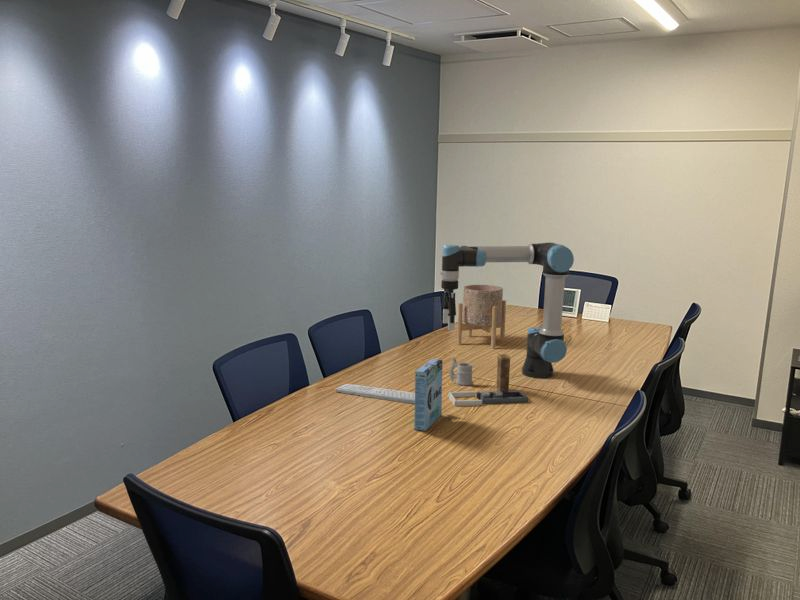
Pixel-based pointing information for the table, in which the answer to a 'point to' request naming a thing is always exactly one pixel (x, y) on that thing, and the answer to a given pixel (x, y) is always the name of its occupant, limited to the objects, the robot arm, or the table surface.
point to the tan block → (503, 372)
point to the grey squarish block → (484, 394)
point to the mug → (462, 373)
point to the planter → (482, 311)
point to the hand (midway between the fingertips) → (448, 326)
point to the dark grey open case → (505, 398)
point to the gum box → (428, 394)
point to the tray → (464, 402)
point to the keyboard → (377, 393)
